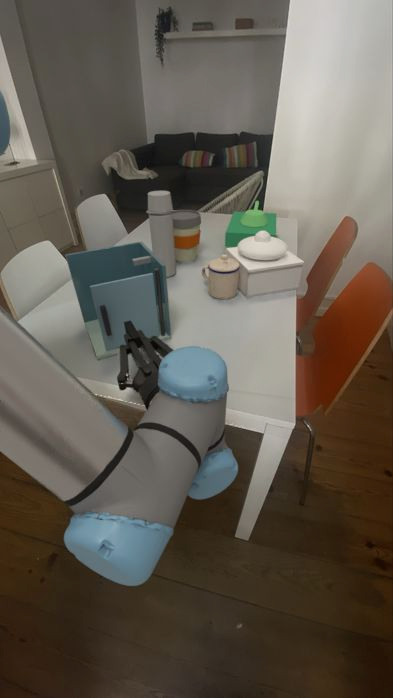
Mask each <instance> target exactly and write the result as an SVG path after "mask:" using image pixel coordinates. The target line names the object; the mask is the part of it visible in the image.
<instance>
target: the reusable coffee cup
mask: <svg viewBox="0 0 393 698" xmlns="http://www.w3.org/2000/svg"><path fill="white" fill-rule="evenodd" d="M171 212H172V214H173V230H174V246H175V261H178V262H190V261H194V260H195V259H197V256H198V246H199V245H200V239H201V224H202V218H201V217H202V216H201V213H200V212H199V211H196V210H193V209H175V210H172V211H171Z"/></svg>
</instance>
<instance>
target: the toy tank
mask: <svg viewBox="0 0 393 698" xmlns="http://www.w3.org/2000/svg"><path fill="white" fill-rule="evenodd" d="M259 204H260V201H259V200H255V202H254V208H253V209H247V210H246V211H233V213H232V216H231V217H230V220H229V223H228V225H227V227H226V231H225V235H224V236H225V237H224V238H225V239H224V247H226V248H232V247H237V246H238V243H239V242H240V241H241V240H243V239H245V238H248V237H252V236H255V235H256V234H257V233H258V232H259V231H266V232H268V233H269V234H270V236H271V237H275V238H277V213H274V212H264V211H263V210H261V209H259V207H260V206H259ZM226 248H225V249H226Z"/></svg>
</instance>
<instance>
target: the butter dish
mask: <svg viewBox="0 0 393 698" xmlns="http://www.w3.org/2000/svg"><path fill="white" fill-rule="evenodd" d="M224 254H226V255H227V256H228V258H230V259H234V260H236V261H237V262H238V263H239V265H240V268H239V274H238V289H237V290H238V291H239V292H240V293H241V294H242V295H243V297H244V298H253V297H259V296H264V295H270V294H275V293H283V292H288V291H294V290H299V288H300V282H301V277H302V272H303V268H304V265H305V261H304V260H302V259H301V258H299V257H298V256H296V255H295V254H294V253H292V252H291V251H289V246H288V245H287V243H286V242H285V241H284V240H281V239H280V238H277V237H276V238H275V237H271V236H270V234H269V233H268V232H266V231H259V232H258V233H257V234H256V235H255V236H252V237H248V238H245V239H243V240H241V241H240V242H239V243H238V246H237V247H232V248H225V250H224Z"/></svg>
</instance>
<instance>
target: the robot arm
mask: <svg viewBox="0 0 393 698" xmlns="http://www.w3.org/2000/svg"><path fill="white" fill-rule="evenodd" d="M10 141H11V120H10V114H9V111H8V106H7V102H6V100H5V97H4V95H3V93H2V91H1V90H0V156H3V154H5V152H6V151H7V149H8V147H9V146H10V145H9V144H10ZM124 326H125V331H126V334H124V339H125V343H126V345H120V353H119V373H118V374H117V376H116V380H117V384H118V389H119V391H125V390H126V389H127V388H130V389H133V391H134V392H136V393H137V394H138V395H139V396H140V399H141V400H142V401H141V402H142V404H143V405H144V407H145V409H146V412H144V414H143V416H142V417H141V418H140V420H139V422H138V423H137V425H136V426H135V427H134V429H131V428H130V427H129V426H128V425H127V424H126V423H125V422H124V421H123V420H122V419H121V418H120V417H118V415H117V414H115V412H113V410H111V409H110V408H109V407H108V406H107V405H106V404H105V403H104V402H103V401H102V400H101V399H100V398H98V397H97V395H95V393H93V392H92V391H91V390H90V389H89V388H88V387H87V386H86V385H85V384H84V383H82V381H81V380H79V378H77V377H76V376H75V375H74V373H72V372H71V371H70V370H69V369H68V368H67V367H66V366H65V365H64V364H63V363H62V362H61V361H60V360H59V359H58V358H56V357H55V356H54V355H53V354H52V353H51V352H50V351H49V350H48V349H47V348H46V347H45V346H44V345H43V344H42V343H41V342H39V341H38V339H36V338H35V337H34V336H33V335H32V334H31V333H30V332H29V331H28V330H27V329H26V328H25V327H24V326H23V325H22V324H20V322H18V321H17V319H15V318H14V317H13V316H12V315H11V314H10V313H9V312H8V311H7V310H6V309H5V308H3V306H1V305H0V452H1V454H3V455H4V456H6V457H7V458H8V459H9V460H10V461H11V462H13V463H14V464H15V465H16V466H18V467H19V468H21V470H23V471H24V472H25V473H27V474H28V475H29V476H30V477H31V478H33V479H34V480H36V481H37V482H38V483H39V484H40V485H42V486H43V487H44V488H45V489H47V490H48V491H49V492H51V493H52V494H53V495H54V496H55V497H57V498H58V499H59V500H60V501H62V503H64V504H65V505H66V506H67V507H68V508H69V509H70V510H71V511H72V512H73V515H72V516H71V518H70V520H69V521H70V522H69V525H68V526H67V528H66V530H65V531H64V534H63V542H64V545H65V547H66V549H67V550H68V551H69V552H70V553H71V554H73V555H74V557H75V558H76V559H77V560H78V561H79V562H80V563H82V564H83V565H84V566H86V567H87V568H89V569H90V570H91V571H93V572H95V573H97V574H98V575H100V576H102V577H104V578H105V579H107V580H110V581H111V582H114V583H117V584H119V585H123V586H128V587H137V586H140V585H143V584H144V583H145V582H146V581H148V580H149V578H150V577H151V576H152V574H153V572H154V571H155V568H156V566H157V564H158V562H159V561H160V558H161V557H162V555H163V553H164V551H165V549H166V547H167V545H168V543H169V541H170V539H171V538H172V536H173V535H174V531H175V526H176V524H177V522H178V520H179V516H180V514H181V512H182V509H183V506H184V504H185V502H186V500H187V497H189V498H191V499H193V500H206V499H209V498H212V497H214V496H216V495H218V494H220V493H221V492H223V491H224V490H226V489H227V488H228V487H230V485H231V484H232V483H233V482H234V481H235V479H236V477H237V475H238V472H239V464H238V462H237V459H236V458H235V456H234V454H233V451H232V449H231V448H230V447H229V446H228V445H227V443H226V439H225V438H226V414H227V402H228V401H227V400H228V393H229V390H230V386H229V381H228V367H227V363H226V362H225V360H224V358H223V357H222V356H221V355H220V354H219V353H217V352H216V351H214V350H212V349H210V348H205V347H201V346H196V345H189V346H188V345H187V346H183V347H178V348H176V349H173V348H172V347H171V346H169V345H168V344H167V343H165V342H164V341H162V340H160V339H159V338H158V337H157V336H152V337H151V338H147V337H146V336H145V335H144V333H143V331H142V330H138V331H137V330H136V329H135V327H134V325H133V323H132V322H131V320H130V321H126V322H124ZM140 349H142V352H143V353H144V354H145V355H146V358H147V359H148V361H147V360H146V359H145V358H144V356H143V354H142V353H141V351H140ZM129 355H130V356H131V358H132V360H133V362H134V364H135V365H136V368H137V371H136V373H135V375H134V377H133V378H132V375H130V365H129ZM160 356H161V357H160Z"/></svg>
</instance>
